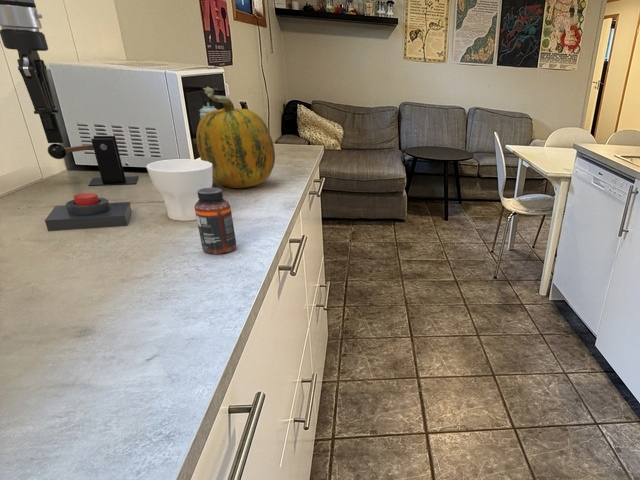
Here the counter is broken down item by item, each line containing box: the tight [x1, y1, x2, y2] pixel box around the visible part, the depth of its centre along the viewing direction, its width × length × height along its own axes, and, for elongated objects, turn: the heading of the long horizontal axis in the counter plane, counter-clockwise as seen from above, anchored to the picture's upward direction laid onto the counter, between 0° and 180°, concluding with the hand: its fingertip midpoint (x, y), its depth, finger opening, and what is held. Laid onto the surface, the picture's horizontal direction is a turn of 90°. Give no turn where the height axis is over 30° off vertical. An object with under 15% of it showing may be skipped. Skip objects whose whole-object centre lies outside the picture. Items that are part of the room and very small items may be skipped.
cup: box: [146, 158, 213, 222], centre depth 102 cm, size 12×12×11 cm
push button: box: [73, 192, 100, 205], centre depth 96 cm, size 4×4×2 cm
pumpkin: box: [195, 86, 276, 189], centre depth 124 cm, size 19×19×25 cm
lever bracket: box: [87, 135, 139, 187], centre depth 119 cm, size 10×8×12 cm
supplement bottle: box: [194, 187, 237, 255], centre depth 86 cm, size 6×6×11 cm
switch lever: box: [47, 143, 94, 160], centre depth 115 cm, size 13×4×4 cm, turn 116°
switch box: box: [44, 197, 133, 232], centre depth 97 cm, size 13×10×4 cm
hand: (55, 142), depth 113 cm, fingers closed
